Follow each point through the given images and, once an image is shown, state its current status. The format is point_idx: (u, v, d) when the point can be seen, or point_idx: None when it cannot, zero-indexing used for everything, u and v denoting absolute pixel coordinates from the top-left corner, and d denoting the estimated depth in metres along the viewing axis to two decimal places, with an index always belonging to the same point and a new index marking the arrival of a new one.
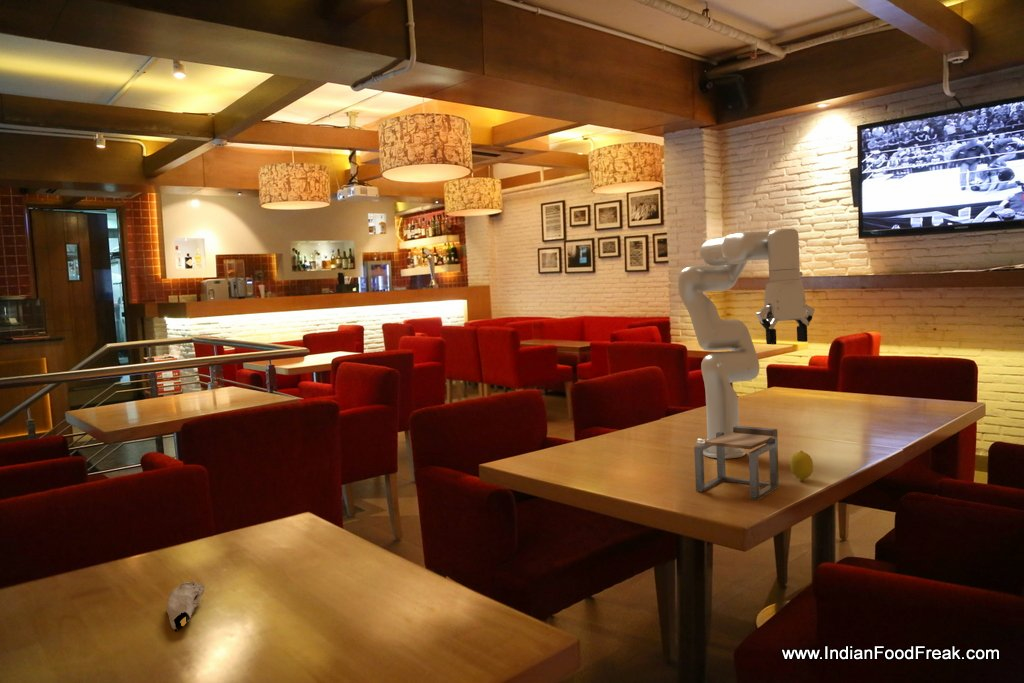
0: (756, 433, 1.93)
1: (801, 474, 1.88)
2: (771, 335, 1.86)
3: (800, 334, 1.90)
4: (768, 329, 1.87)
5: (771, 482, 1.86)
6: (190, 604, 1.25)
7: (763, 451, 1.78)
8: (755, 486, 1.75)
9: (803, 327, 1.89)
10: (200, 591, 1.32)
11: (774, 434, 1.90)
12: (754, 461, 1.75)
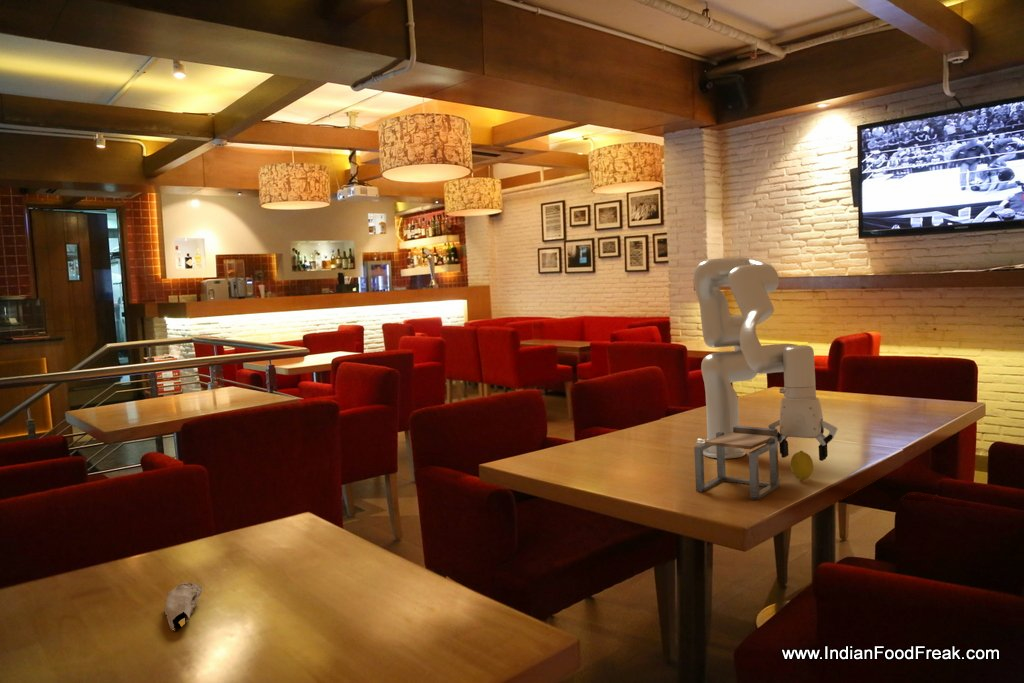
0: (756, 433, 1.93)
1: (801, 474, 1.88)
2: None
3: (786, 450, 1.92)
4: (826, 444, 1.85)
5: (771, 482, 1.86)
6: (188, 604, 1.25)
7: (763, 451, 1.78)
8: (755, 486, 1.75)
9: (786, 442, 1.93)
10: (198, 592, 1.32)
11: (774, 434, 1.90)
12: (754, 461, 1.75)
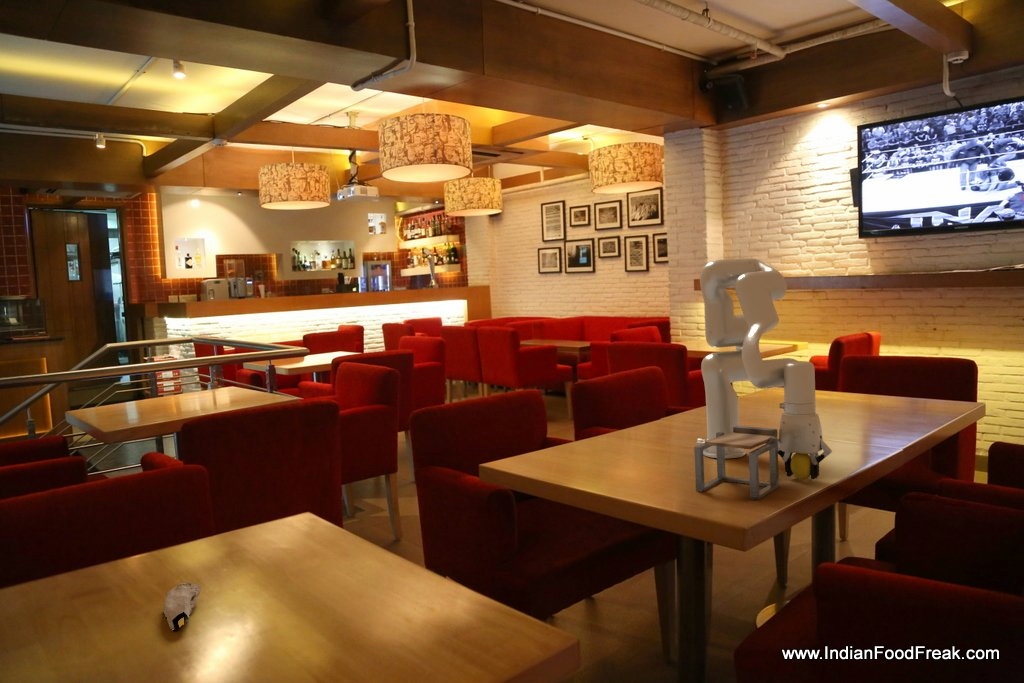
0: (756, 433, 1.93)
1: (801, 474, 1.88)
2: None
3: None
4: (818, 463, 1.87)
5: (771, 482, 1.86)
6: (188, 604, 1.25)
7: (763, 451, 1.78)
8: (755, 486, 1.75)
9: None
10: (197, 592, 1.32)
11: (774, 434, 1.90)
12: (754, 461, 1.75)
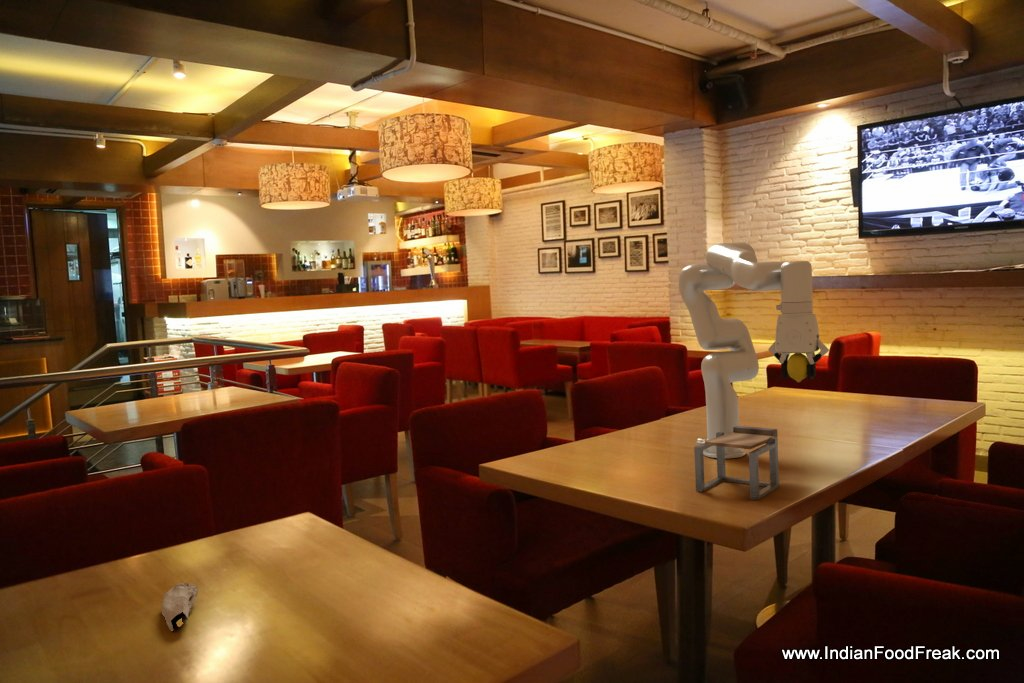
0: (756, 433, 1.93)
1: (797, 374, 1.86)
2: None
3: (787, 371, 1.90)
4: (815, 363, 1.86)
5: (771, 482, 1.86)
6: (186, 605, 1.25)
7: (763, 451, 1.78)
8: (755, 486, 1.75)
9: None
10: (194, 592, 1.32)
11: (774, 434, 1.90)
12: (754, 461, 1.75)
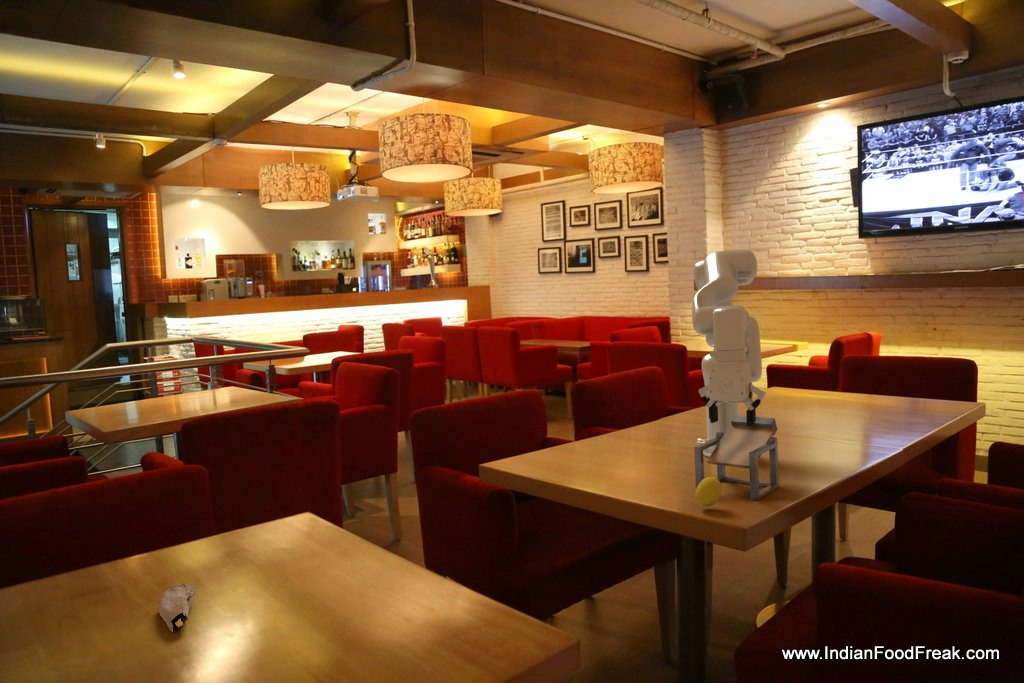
0: (755, 426, 1.92)
1: (700, 494, 1.69)
2: None
3: (715, 415, 1.86)
4: (754, 409, 1.80)
5: (771, 482, 1.86)
6: (186, 605, 1.25)
7: (763, 451, 1.78)
8: (755, 486, 1.75)
9: (716, 407, 1.87)
10: (192, 592, 1.32)
11: (773, 426, 1.90)
12: (754, 461, 1.75)
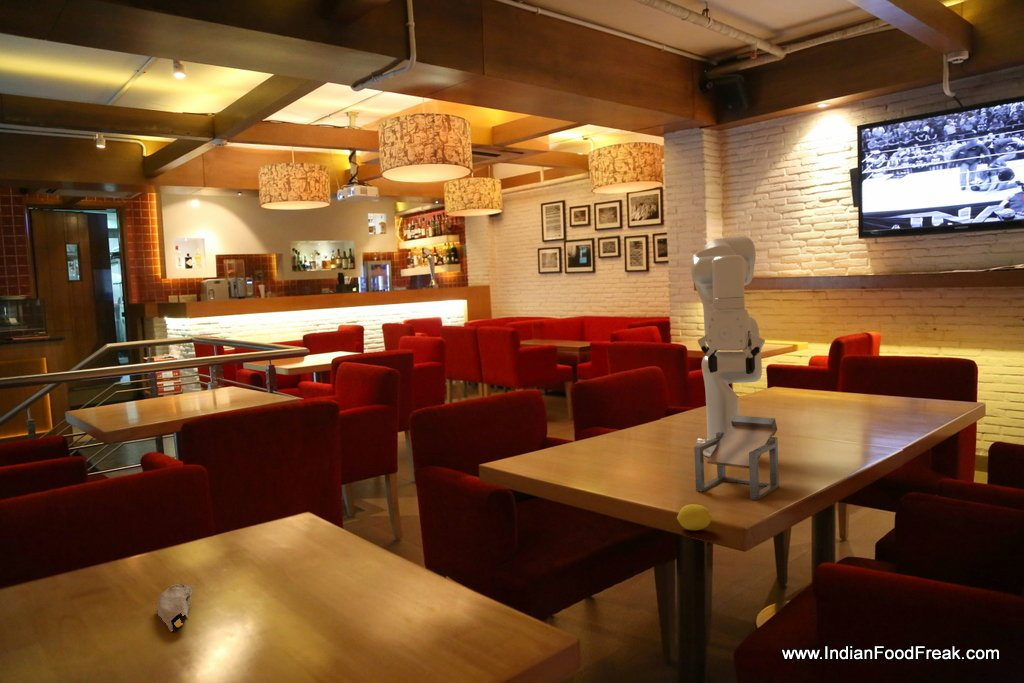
0: (755, 426, 1.92)
1: None
2: None
3: (714, 364, 1.86)
4: (754, 357, 1.79)
5: (771, 482, 1.86)
6: (185, 605, 1.25)
7: (763, 451, 1.78)
8: (755, 486, 1.75)
9: (716, 357, 1.87)
10: (190, 593, 1.32)
11: (773, 426, 1.90)
12: (754, 461, 1.75)
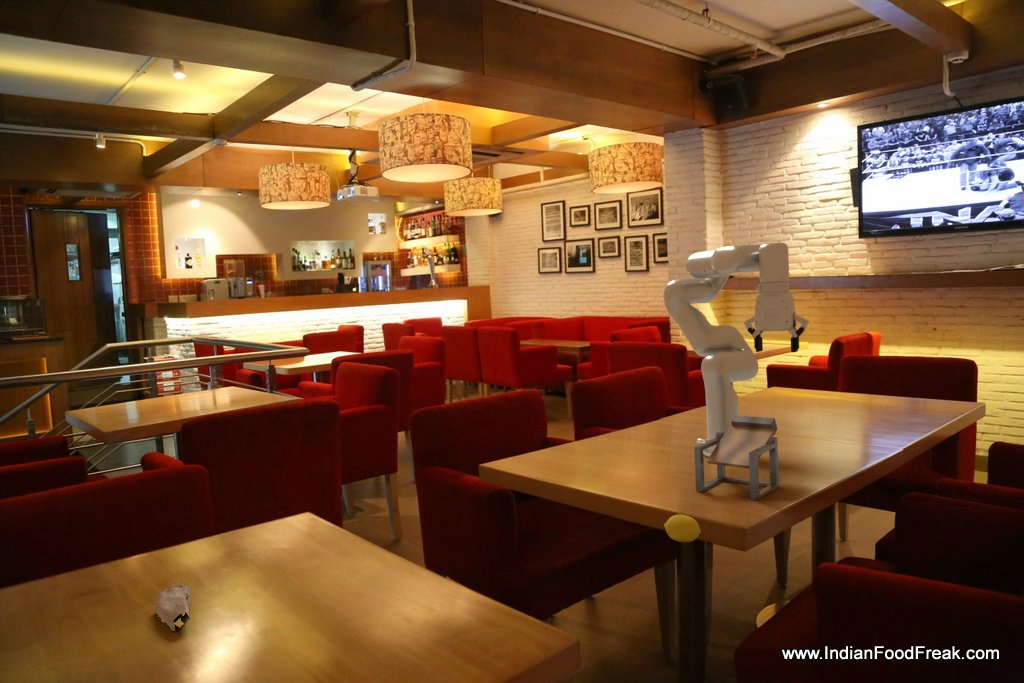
0: (755, 426, 1.92)
1: (669, 530, 1.50)
2: None
3: (760, 344, 2.00)
4: (798, 337, 1.94)
5: (771, 482, 1.86)
6: (186, 605, 1.25)
7: (763, 451, 1.78)
8: (755, 486, 1.75)
9: (761, 337, 2.01)
10: (189, 593, 1.32)
11: (773, 426, 1.90)
12: (754, 461, 1.75)
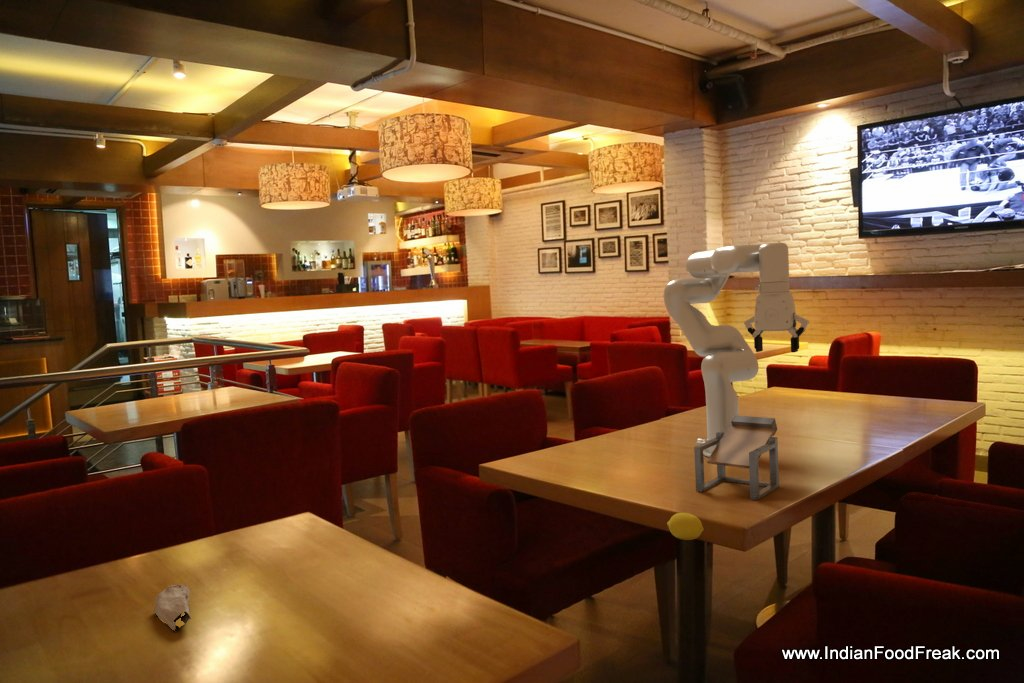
0: (755, 426, 1.92)
1: (672, 522, 1.51)
2: None
3: (760, 344, 2.00)
4: (798, 337, 1.94)
5: (771, 482, 1.86)
6: (186, 604, 1.25)
7: (763, 451, 1.78)
8: (755, 486, 1.75)
9: (761, 337, 2.01)
10: (188, 593, 1.32)
11: (773, 426, 1.90)
12: (754, 461, 1.75)
